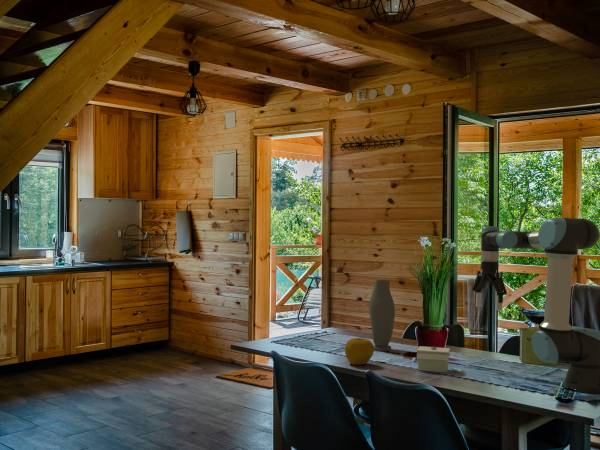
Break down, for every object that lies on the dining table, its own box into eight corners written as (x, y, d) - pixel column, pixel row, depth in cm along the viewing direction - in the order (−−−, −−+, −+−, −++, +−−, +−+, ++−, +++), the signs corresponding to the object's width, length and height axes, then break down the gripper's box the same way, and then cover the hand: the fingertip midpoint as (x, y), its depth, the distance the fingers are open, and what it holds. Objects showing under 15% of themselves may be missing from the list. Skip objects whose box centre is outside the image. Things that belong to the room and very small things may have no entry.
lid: (449, 356, 277) (449, 346, 277) (448, 360, 267) (448, 350, 267) (419, 354, 280) (419, 344, 280) (416, 358, 270) (416, 348, 270)
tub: (448, 368, 275) (448, 351, 276) (447, 372, 268) (447, 354, 268) (419, 366, 279) (420, 349, 279) (418, 370, 271) (418, 352, 271)
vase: (394, 352, 315) (395, 280, 316) (367, 350, 317) (369, 280, 318) (394, 348, 328) (395, 279, 329) (369, 347, 330) (370, 279, 331)
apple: (375, 362, 286) (376, 337, 286) (371, 368, 273) (371, 341, 273) (347, 360, 289) (347, 335, 289) (341, 365, 277) (342, 339, 277)
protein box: (557, 365, 290) (558, 331, 290) (522, 363, 293) (522, 329, 293) (553, 361, 300) (553, 328, 300) (519, 359, 303) (519, 326, 303)
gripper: (515, 262, 275) (515, 311, 275) (478, 259, 298) (477, 305, 298) (502, 262, 272) (501, 312, 272) (465, 259, 295) (464, 305, 295)
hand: (488, 308), depth 285 cm, fingers open, 13 cm apart
